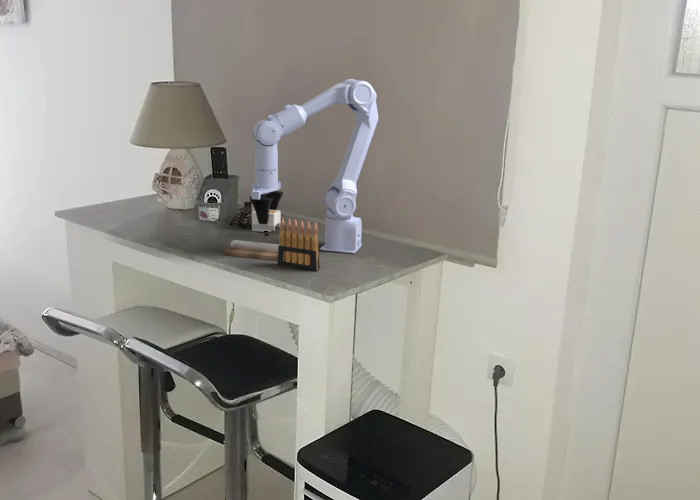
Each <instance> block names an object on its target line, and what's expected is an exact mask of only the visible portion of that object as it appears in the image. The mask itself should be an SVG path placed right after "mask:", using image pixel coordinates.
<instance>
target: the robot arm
mask: <svg viewBox="0 0 700 500" xmlns="http://www.w3.org/2000/svg"><path fill="white" fill-rule="evenodd" d="M377 96H378V95H377V93H376V91H375V89H374V88H373V86H372V85H371V84H370V82H367V81H365V80H357V79H354V78H353V79H352V78H348V79H345V80H344V81H343V82H339V83H336V84H335V85H333V86H330V87H329V88H328V89H326V90H325V91H322V92H321V93H319V94H317V95H316V96H315V97H312V98H311V99H310V100H308V101H306V102H304V103H302V104H300V105H297V104H295V103H293V104H285V105H284V106H283V108H284V109H282V110H280V111H278V112H276V113H274V114H269V115H267V116H266V117H267V119H260V120H258V121H257V122H256V123H255V124H254V125H253V127H252V128H253V129H252V130H251V134H252V137H253V139H254V140H255V141H254V148H255V149H254V183H253V184H251V185H250V188H251V189H252V191H251V195H250V196H249V201H250V202H251V203H252V204H253V206H254V209H255V211H256V215H257V219H258V223H259V224H265V225H266V224H267V223H268V217H269V210H277V208H278V206H279V203H280V201H281V198H282V197H283V195H284V192H283V191H279V190H281V189H282V182H281V180H279V166H278V165H279V162H278V161H279V158H278V157H279V155H278V153H279V151H278V142H279V141H280V140H281V137H282V138H283V137H285V136H286V135H288V134H290V133H293V132H294V131H296V130H297V129H299V128H301V127H303V126H304V125H305V124H306V121H307V119H308V118H309V117H310V116H312V115H314V114H317V113H318V112H321V111H323V110H326V109H327V108H329V107H331V106H332V105H336V104H337V105H347V106H348V107H349V108H350V110H351V112H352V114H353V115H354V117H355V120H356V121H355V123H354V128H353V129H352V132H351V135H350V138H349V141H348V144H347V146H346V150H345V152H344V156H343V159H342V162H341V165H340V167H339V170H338V174H337V177H336V178H335V179H333V181H332V182H331V183H330V187H329V188H328V189H327V190H326V191H325V193H324V195H323V199H322V200H323V204H324V207H325V208H326V212H325V221H324V222H325V224H324V225H325V229H324V230H325V233H324V234H325V235H324V237H325V239H324V242H325V243H324V244H323V245H322V246H321V247H320V248H319V251H329V252H337V253H347V254H355V253H357V251H358V250H359V249H360V248H361V247H362V231H363V230H362V229H363V228H362V227H363V225H362V218H361V217H356V216H354V213H355V211H356V208H357V201H356V200H357V194H358V190H357V182H358V179H359V176H360V173H361V171H362V168H363V165H364V161H365V159H366V156H367V153H368V150H369V148H370V144H371V142H372V139H373V136H374V133H375V130H376V128H377V123H378V122H379V113H378V106H377ZM252 204H251V205H252Z"/></svg>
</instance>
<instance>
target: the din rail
mask: <svg viewBox="0 0 700 500" xmlns="http://www.w3.org/2000/svg"><path fill="white" fill-rule="evenodd" d="M278 246H279V243H269V242H268V243H267V242H260V241H259V242H258V241H247V240H242V239H241V240H238V239H233V240H231V241H230V247H231V248H236V249H246V250H255V251H265V252H274V253H278Z"/></svg>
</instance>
